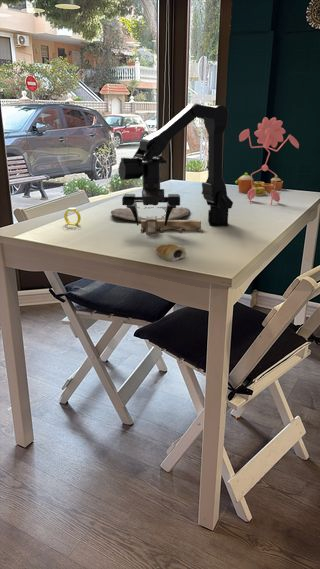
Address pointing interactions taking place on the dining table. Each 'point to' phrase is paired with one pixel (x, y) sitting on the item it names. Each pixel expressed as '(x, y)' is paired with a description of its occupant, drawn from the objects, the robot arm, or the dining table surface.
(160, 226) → the rail
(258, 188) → the toy tea set
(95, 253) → the dining table surface
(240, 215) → the dining table surface
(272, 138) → the figurine
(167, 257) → the pastry
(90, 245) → the dining table surface
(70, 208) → the gold ring
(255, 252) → the dining table surface
